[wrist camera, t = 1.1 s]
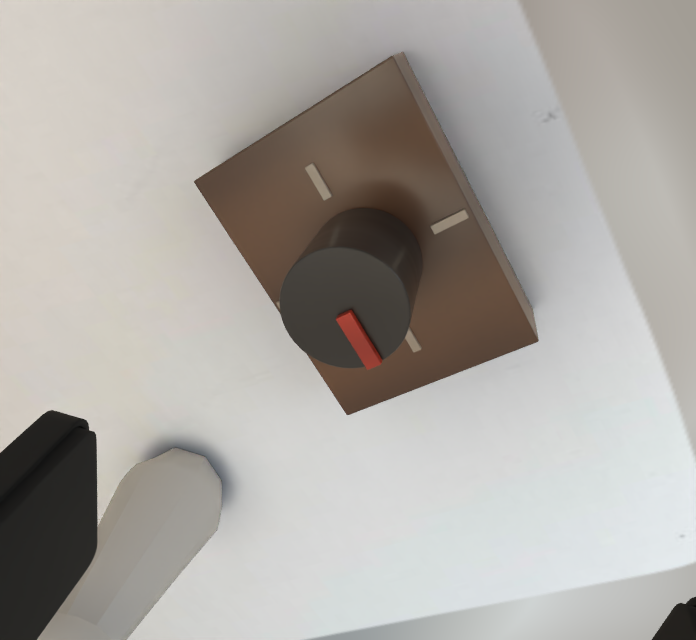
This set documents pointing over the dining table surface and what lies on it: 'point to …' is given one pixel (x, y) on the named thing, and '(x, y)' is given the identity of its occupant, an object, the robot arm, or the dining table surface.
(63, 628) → the salt shaker
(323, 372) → the panel
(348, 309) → the knob
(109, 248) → the dining table surface
